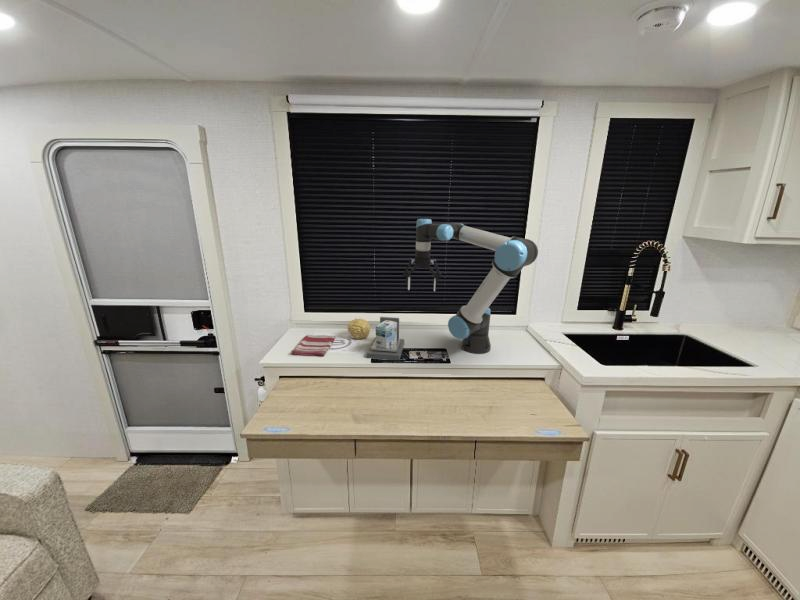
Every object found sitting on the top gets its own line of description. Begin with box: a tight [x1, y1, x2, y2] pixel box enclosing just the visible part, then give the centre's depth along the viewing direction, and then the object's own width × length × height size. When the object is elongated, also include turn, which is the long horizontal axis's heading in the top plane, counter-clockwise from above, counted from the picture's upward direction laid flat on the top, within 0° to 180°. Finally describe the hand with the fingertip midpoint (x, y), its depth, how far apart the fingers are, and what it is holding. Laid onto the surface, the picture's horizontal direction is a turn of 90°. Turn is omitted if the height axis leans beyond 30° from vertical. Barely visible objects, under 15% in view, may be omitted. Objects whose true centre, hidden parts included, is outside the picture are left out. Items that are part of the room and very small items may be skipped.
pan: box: [371, 338, 401, 352], centre depth 166 cm, size 13×13×2 cm
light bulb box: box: [375, 320, 397, 348], centre depth 164 cm, size 11×7×11 cm, turn 151°
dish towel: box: [290, 334, 337, 358], centre depth 171 cm, size 17×23×3 cm
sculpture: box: [347, 318, 371, 340], centre depth 183 cm, size 12×12×11 cm
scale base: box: [366, 316, 405, 361], centre depth 166 cm, size 16×20×14 cm
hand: (421, 290), depth 173 cm, fingers open, 13 cm apart
